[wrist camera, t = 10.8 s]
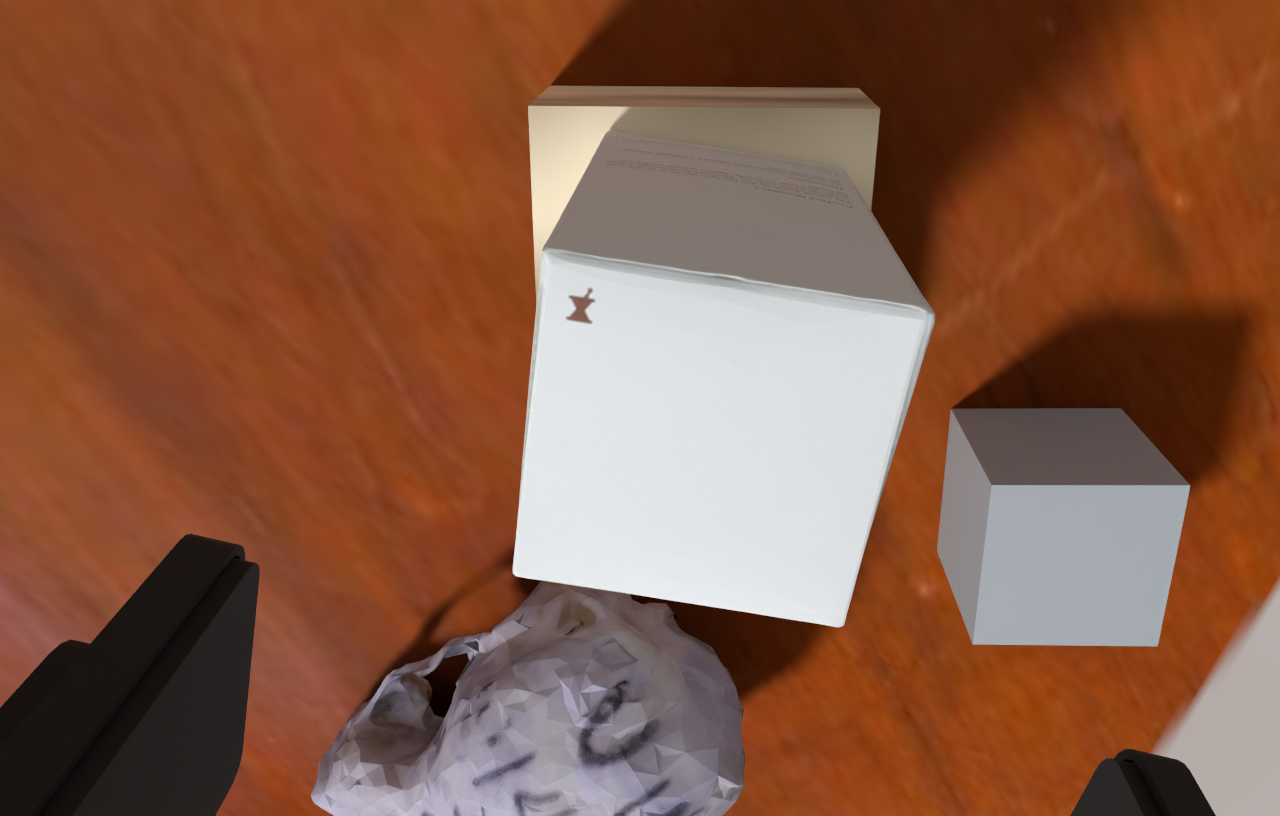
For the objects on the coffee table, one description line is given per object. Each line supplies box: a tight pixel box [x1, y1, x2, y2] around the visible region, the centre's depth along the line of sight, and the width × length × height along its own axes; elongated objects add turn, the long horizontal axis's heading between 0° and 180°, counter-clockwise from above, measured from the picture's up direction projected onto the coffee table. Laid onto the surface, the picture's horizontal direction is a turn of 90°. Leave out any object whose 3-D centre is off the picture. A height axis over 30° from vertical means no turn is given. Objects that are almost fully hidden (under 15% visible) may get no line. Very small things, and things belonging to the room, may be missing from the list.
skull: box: [311, 581, 745, 816], centre depth 40 cm, size 19×12×10 cm, turn 107°
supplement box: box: [513, 131, 935, 627], centre depth 26 cm, size 7×7×13 cm
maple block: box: [528, 86, 880, 305], centre depth 34 cm, size 10×10×5 cm
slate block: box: [937, 408, 1190, 646], centre depth 36 cm, size 6×6×6 cm
